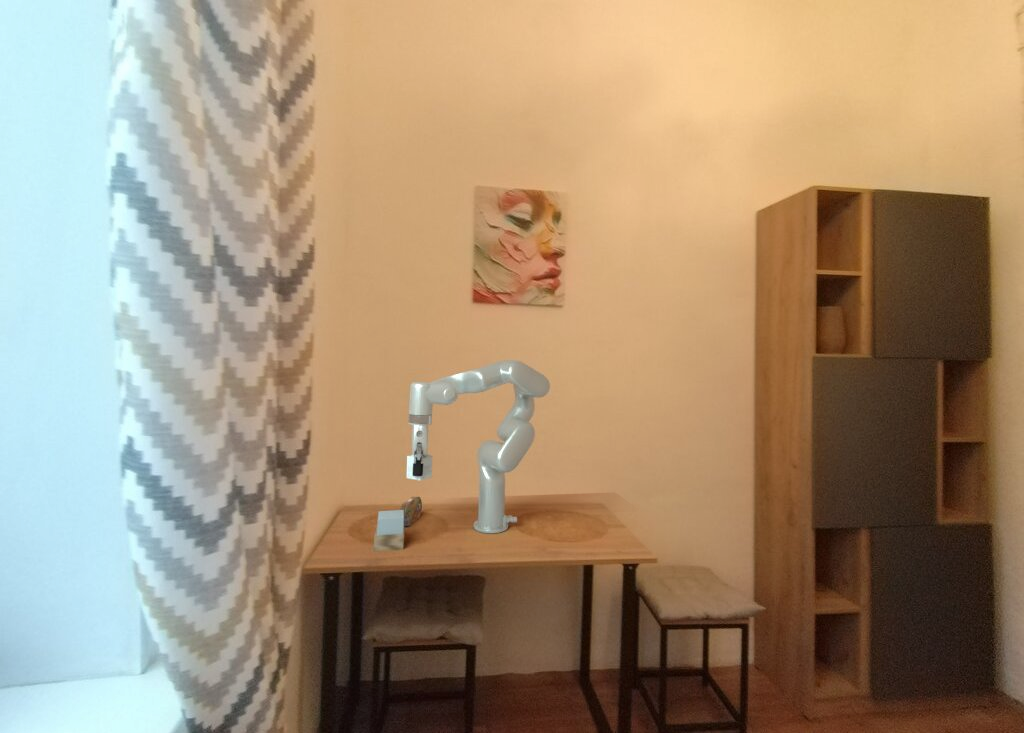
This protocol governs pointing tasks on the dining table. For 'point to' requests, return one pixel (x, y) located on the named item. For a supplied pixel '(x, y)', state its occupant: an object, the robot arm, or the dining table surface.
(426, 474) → the skincare box
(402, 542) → the block
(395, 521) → the tower top
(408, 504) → the tin
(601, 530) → the dining table surface
